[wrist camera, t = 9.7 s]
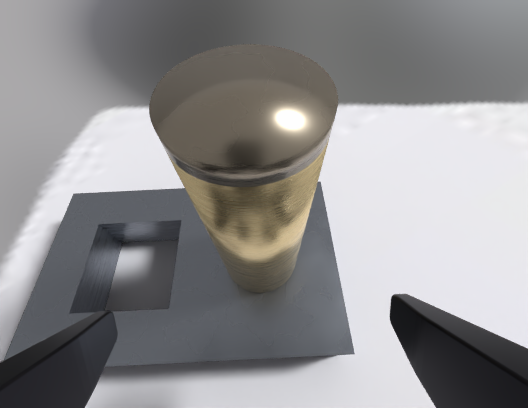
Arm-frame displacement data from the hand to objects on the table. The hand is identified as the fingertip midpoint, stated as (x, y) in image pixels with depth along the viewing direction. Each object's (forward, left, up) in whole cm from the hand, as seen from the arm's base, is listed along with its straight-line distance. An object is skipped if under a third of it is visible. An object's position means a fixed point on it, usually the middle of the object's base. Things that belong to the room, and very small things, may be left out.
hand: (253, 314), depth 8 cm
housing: (+3, +6, -11) cm, 13 cm away
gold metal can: (+4, +2, -8) cm, 9 cm away
